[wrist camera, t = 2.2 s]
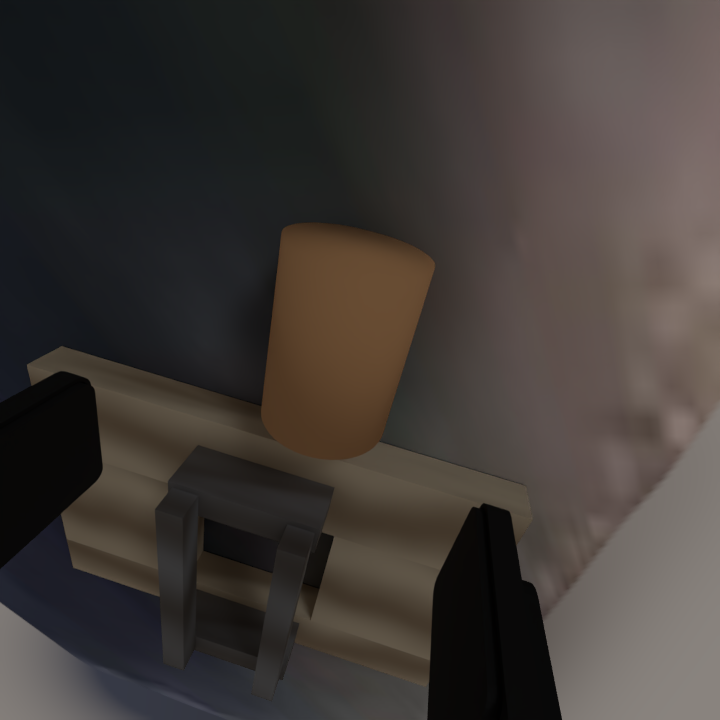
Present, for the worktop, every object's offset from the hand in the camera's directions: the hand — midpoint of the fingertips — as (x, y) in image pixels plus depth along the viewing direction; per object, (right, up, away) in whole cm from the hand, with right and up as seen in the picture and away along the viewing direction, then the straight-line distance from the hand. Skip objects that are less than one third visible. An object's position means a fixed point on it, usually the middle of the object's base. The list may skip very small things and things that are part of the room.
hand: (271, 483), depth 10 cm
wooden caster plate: (-3, -6, +14) cm, 16 cm away
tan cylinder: (+2, +5, +7) cm, 9 cm away
